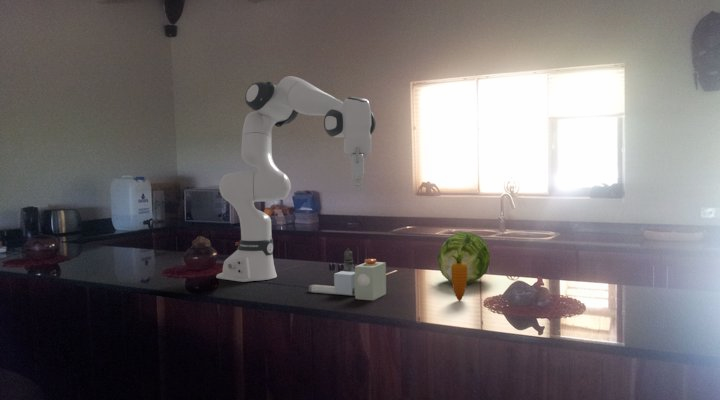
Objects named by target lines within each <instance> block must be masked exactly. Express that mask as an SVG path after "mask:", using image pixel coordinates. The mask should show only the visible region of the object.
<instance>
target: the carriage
mask: <svg viewBox="0 0 720 400" xmlns="http://www.w3.org/2000/svg"><path fill="white" fill-rule="evenodd" d="M333 286H334V290H335V294H334V295H339V294H346V295H345V296H350V295H353V288H355V272H347V271H343V270H340V271H339V272H335V273H334V274H333Z"/></svg>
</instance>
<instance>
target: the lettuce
mask: <svg viewBox="0 0 720 400" xmlns="http://www.w3.org/2000/svg"><path fill="white" fill-rule="evenodd" d="M457 250H460V253H464V255H463V258H462V261H461V262H462V263H465V264H466V265H467V283H466V285H468V284H471V283H474V282H476V281H478V280H479V279H481V278H483V276H484V275H485V274H486V273H487V271H488V268H489V265H490V253H491V252H490V247H489V246H488V242H487V241H485V239H484V238H483V237H481V235H479V234H476V233H474V232H466V231H460V232H457V233H455V234H452V235H450V236H449V237H448V238H447V239H446V240H445V241H444V242H443V244H442V245H441V247H440V249H439V251H438V254H437V265H438V269H439V270H440V273H441V275H442V276H443V277H444V278H445V279H446V280H447V281H449V282H451V283H452V272H451V267H452V264H453V263H456V262H457V261H456V259H455V258H454V257H452V256H451V255H452V254H453V255H455V256H456V257H458V253H457Z"/></svg>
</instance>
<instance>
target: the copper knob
mask: <svg viewBox="0 0 720 400" xmlns="http://www.w3.org/2000/svg"><path fill="white" fill-rule="evenodd" d="M376 262H377V259H376V258H364V263H366V265H369V266H375V263H376Z"/></svg>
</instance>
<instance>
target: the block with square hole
mask: <svg viewBox="0 0 720 400" xmlns="http://www.w3.org/2000/svg"><path fill="white" fill-rule="evenodd" d="M386 263H387V262H382V261H376V263H375V266H369V265H366V263H365V262H364V263H361V264H358V265H355V266H354V270H355V296H354V299H355V300H365V301H376V300H377V299H379V298H381V297H383V296H385V295H386V294H387V264H386Z"/></svg>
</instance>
